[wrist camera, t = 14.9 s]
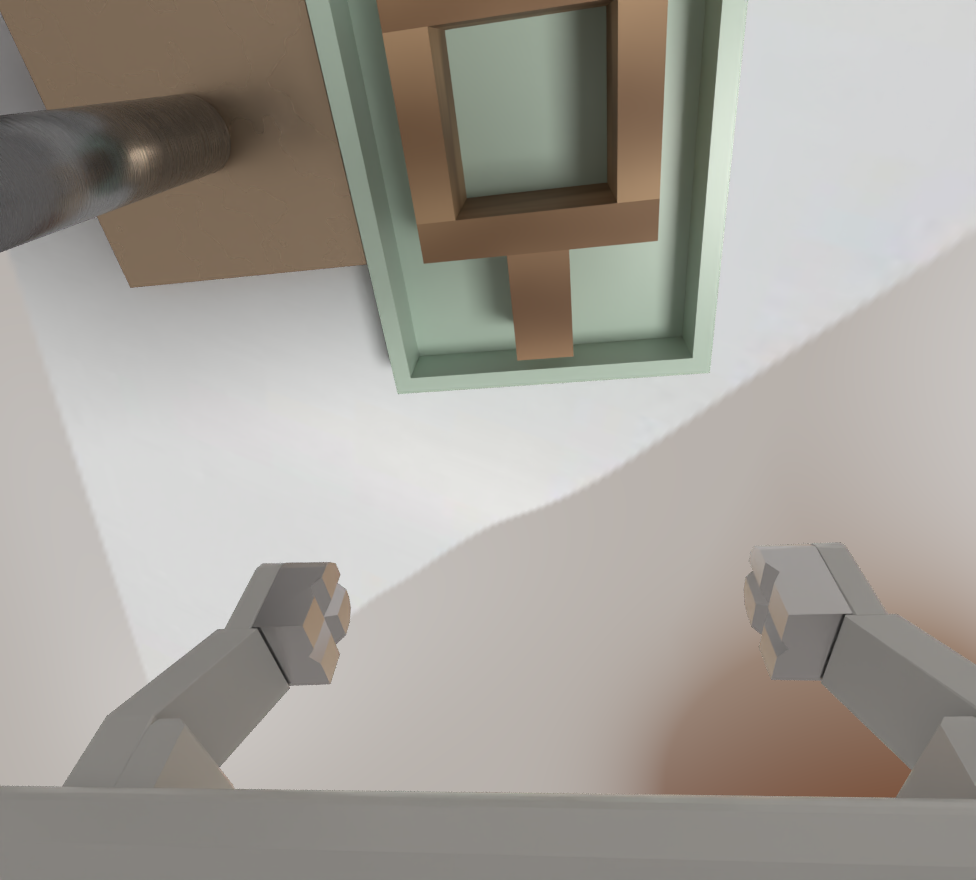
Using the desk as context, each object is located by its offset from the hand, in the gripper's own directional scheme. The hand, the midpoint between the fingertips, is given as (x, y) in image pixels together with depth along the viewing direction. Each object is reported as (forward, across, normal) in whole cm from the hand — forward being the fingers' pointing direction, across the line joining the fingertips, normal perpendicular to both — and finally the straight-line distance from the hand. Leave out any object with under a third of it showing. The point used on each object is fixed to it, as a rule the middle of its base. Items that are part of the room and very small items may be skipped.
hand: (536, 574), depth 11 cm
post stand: (+19, +14, -7) cm, 25 cm away
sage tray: (+19, 0, -5) cm, 20 cm away
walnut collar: (+19, 0, -4) cm, 19 cm away
